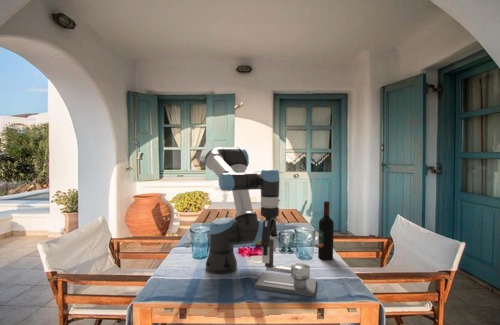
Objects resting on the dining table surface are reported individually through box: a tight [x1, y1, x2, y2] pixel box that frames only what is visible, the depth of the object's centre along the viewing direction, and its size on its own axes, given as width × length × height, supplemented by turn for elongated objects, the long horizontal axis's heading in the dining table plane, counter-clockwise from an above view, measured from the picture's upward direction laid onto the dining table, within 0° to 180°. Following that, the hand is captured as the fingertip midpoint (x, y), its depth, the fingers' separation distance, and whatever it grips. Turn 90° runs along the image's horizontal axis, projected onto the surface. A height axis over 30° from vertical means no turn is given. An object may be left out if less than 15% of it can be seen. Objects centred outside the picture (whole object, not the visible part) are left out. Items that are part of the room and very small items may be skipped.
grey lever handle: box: [264, 239, 311, 281], centre depth 122 cm, size 18×11×14 cm, turn 74°
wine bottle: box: [317, 201, 335, 262], centre depth 156 cm, size 8×8×30 cm
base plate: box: [254, 271, 317, 297], centre depth 125 cm, size 24×13×6 cm, turn 74°
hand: (269, 256), depth 124 cm, fingers open, 13 cm apart
